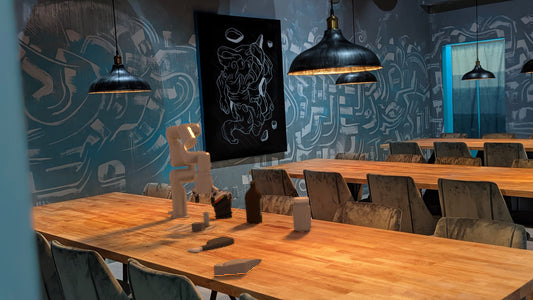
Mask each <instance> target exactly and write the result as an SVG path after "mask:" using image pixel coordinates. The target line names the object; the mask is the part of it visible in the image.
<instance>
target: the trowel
mask: <svg viewBox="0 0 533 300" xmlns="http://www.w3.org/2000/svg"><path fill="white" fill-rule="evenodd" d="M261 261H262V262H263V259H262V258H234V259H230V260H227V261H225V262H222V263H221V262H220V263H216V264H214V265H213V277H214V276H215V275H224V274H237V273H247V272H248V271H249V270H251V269H252V268H253V267H255V266H256V265H257V264H258V265H260V264H261V263H262V262H261ZM260 262H261V263H260ZM259 263H260V264H259ZM258 265H257V266H258ZM257 266H256V267H257ZM256 267H255V268H256ZM252 270H253V269H252ZM252 270H251V271H252Z"/></svg>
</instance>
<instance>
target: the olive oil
mask: <svg viewBox="0 0 533 300" xmlns="http://www.w3.org/2000/svg"><path fill="white" fill-rule="evenodd" d="M244 205H245V206H244V207H245V215H246V218H245V219H246V223H247V224H253V225H254V224H255V225H256V224H257V225H258V224H261V223H263V195H262V192H261V191H260V190H259V189H258V188H257V187H256V181H255V180H250V181H249V188H248V190H247V191H246V192H245V193H244Z"/></svg>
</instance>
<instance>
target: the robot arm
mask: <svg viewBox="0 0 533 300" xmlns="http://www.w3.org/2000/svg"><path fill="white" fill-rule="evenodd" d="M200 135H201V126H200V125H199V124H198V123H197V122H196V123H195V122H193V123H181V124H178V125H171V126H169V127H167V128H166V130H165V137H166V141H167V143H168V148H169V158H170V165H171V166H172V168H173V167H174V168H176V169H171V171H170V172H169V174H168V177H169V182H170V189H171V203H172V204H171V205H172V210H167V211H168V212H167V214H168V215H170V219H172V220H176V219H189V218H190V217H191V214H189V213H188V197H187V196H188V195H187V194H188V193H187V189H186V187H185V186H184V185H183V184H189V183H193V182H195V184H194V185H195V186H193V187H191V189H190V191H191V192H192V194H193V195H194V197H195V199H194V200H195V203H196V204H199V203H200V195H210V204H211V205H212V204H213V203H214V202H215V200H216V195H218V193H219V188H217V187H216V186H215V185H214V181H213V177H212V175H211V155H210V153H209V152H206V151H205V150H199V151H198V150H197V151H189V150H190V149H192V148H194V147H195V146H196V145H197V142H198V139H197V137H199V136H200ZM180 140H181V141H180ZM182 167H185V168H182Z"/></svg>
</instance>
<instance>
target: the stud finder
mask: <svg viewBox="0 0 533 300" xmlns="http://www.w3.org/2000/svg"><path fill="white" fill-rule="evenodd" d="M191 224H192V231H203V230H205V222H204V221H196V222H195V221H194V222H193V223H191Z"/></svg>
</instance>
